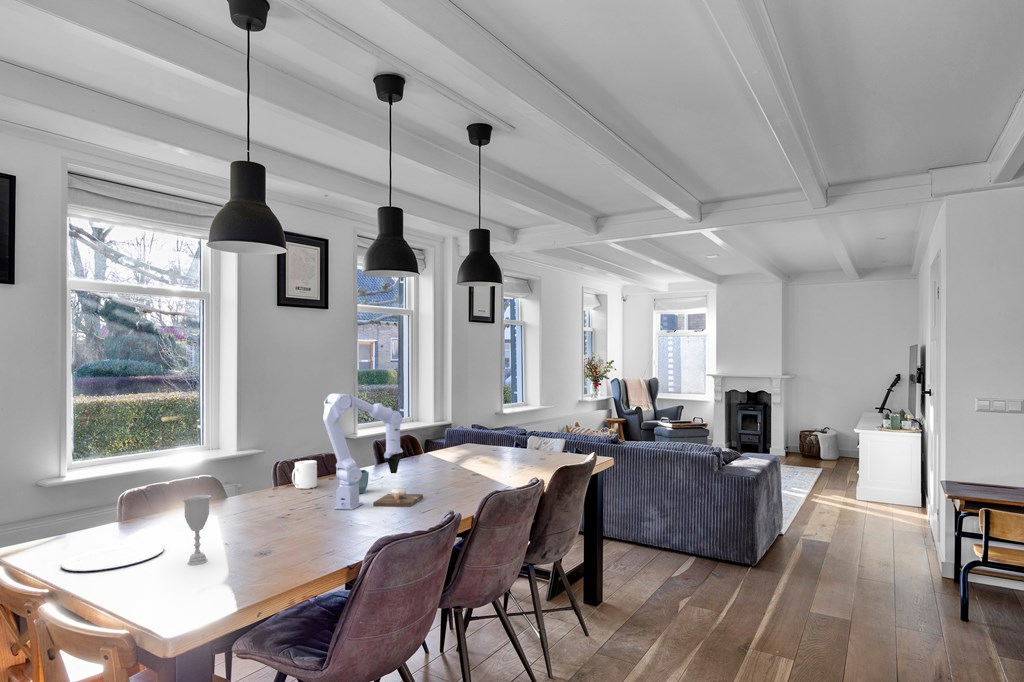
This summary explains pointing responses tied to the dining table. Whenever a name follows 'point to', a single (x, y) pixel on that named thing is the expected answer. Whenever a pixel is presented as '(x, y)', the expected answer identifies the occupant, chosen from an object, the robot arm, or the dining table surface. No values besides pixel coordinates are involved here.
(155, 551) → the plate
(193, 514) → the chalice
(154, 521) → the dining table surface
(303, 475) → the mug
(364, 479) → the flower pot
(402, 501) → the strip board
